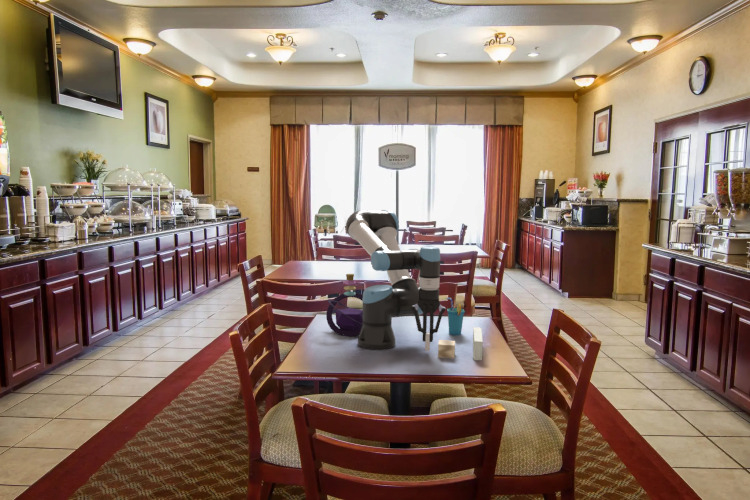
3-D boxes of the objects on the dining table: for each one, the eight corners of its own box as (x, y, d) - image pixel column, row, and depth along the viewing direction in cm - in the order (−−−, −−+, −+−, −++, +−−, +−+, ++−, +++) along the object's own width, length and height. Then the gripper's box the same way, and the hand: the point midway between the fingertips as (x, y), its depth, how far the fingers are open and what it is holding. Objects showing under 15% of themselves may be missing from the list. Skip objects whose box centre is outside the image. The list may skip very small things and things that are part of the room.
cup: (438, 329, 226) (439, 296, 224) (453, 328, 229) (454, 295, 227) (454, 338, 213) (455, 303, 212) (470, 336, 216) (471, 302, 214)
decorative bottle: (316, 334, 216) (316, 275, 213) (335, 322, 236) (335, 269, 233) (365, 339, 209) (366, 279, 206) (381, 327, 229) (382, 272, 226)
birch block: (437, 357, 189) (438, 344, 188) (438, 352, 195) (439, 339, 194) (454, 358, 188) (454, 345, 187) (454, 353, 194) (455, 340, 193)
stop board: (473, 359, 187) (474, 341, 186) (472, 343, 206) (473, 327, 205) (481, 360, 186) (482, 341, 185) (480, 344, 206) (481, 327, 205)
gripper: (410, 289, 187) (409, 351, 189) (446, 291, 185) (444, 354, 187) (412, 285, 194) (411, 345, 197) (447, 287, 192) (445, 348, 194)
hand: (427, 349), depth 192 cm, fingers closed
